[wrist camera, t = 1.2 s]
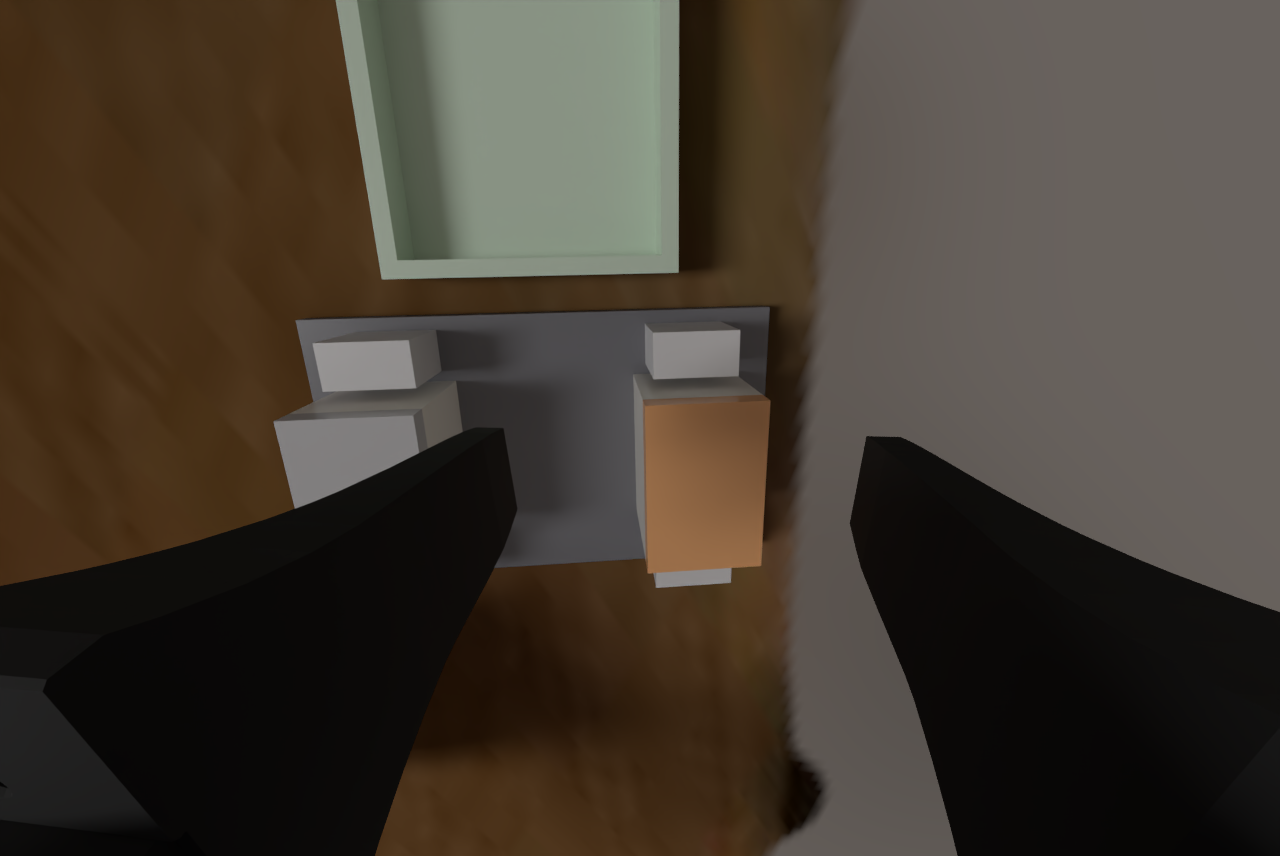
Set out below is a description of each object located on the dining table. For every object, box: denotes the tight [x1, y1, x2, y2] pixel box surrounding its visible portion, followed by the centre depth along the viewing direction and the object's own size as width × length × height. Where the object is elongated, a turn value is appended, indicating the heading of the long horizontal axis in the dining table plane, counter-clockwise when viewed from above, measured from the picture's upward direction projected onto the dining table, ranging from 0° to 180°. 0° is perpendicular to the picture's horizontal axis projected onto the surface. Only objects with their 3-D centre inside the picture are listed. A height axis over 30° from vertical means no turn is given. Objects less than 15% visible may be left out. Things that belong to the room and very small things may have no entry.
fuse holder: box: [296, 306, 770, 588], centre depth 20 cm, size 11×18×4 cm, turn 91°
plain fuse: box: [274, 381, 463, 509], centre depth 19 cm, size 6×4×5 cm, turn 1°
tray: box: [336, 0, 679, 279], centre depth 17 cm, size 12×10×2 cm
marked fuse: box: [633, 374, 771, 573], centre depth 19 cm, size 6×4×5 cm, turn 1°
